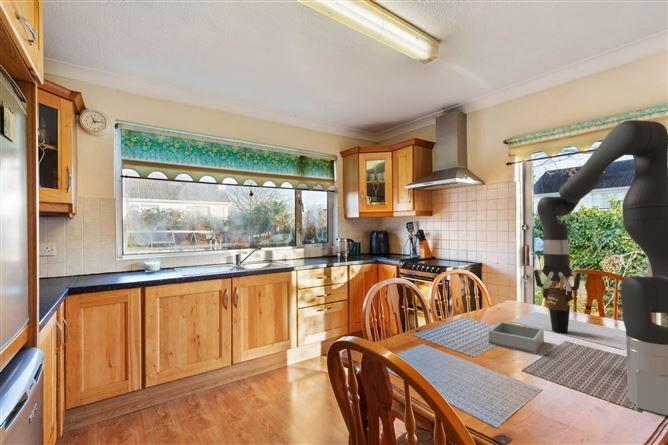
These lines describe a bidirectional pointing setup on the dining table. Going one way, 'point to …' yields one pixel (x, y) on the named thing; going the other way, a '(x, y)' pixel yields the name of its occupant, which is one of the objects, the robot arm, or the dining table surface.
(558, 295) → the utensil holder
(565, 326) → the cup
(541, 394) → the dining table surface
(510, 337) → the bin
